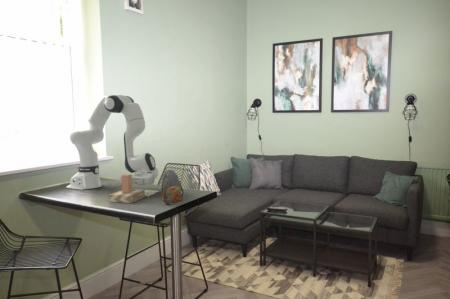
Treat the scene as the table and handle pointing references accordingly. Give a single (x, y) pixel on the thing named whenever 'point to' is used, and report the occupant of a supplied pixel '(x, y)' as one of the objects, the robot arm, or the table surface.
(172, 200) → the tin
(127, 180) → the block
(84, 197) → the table surface
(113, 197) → the deck
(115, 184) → the table surface
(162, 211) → the table surface
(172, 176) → the decorative rock
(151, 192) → the mat
